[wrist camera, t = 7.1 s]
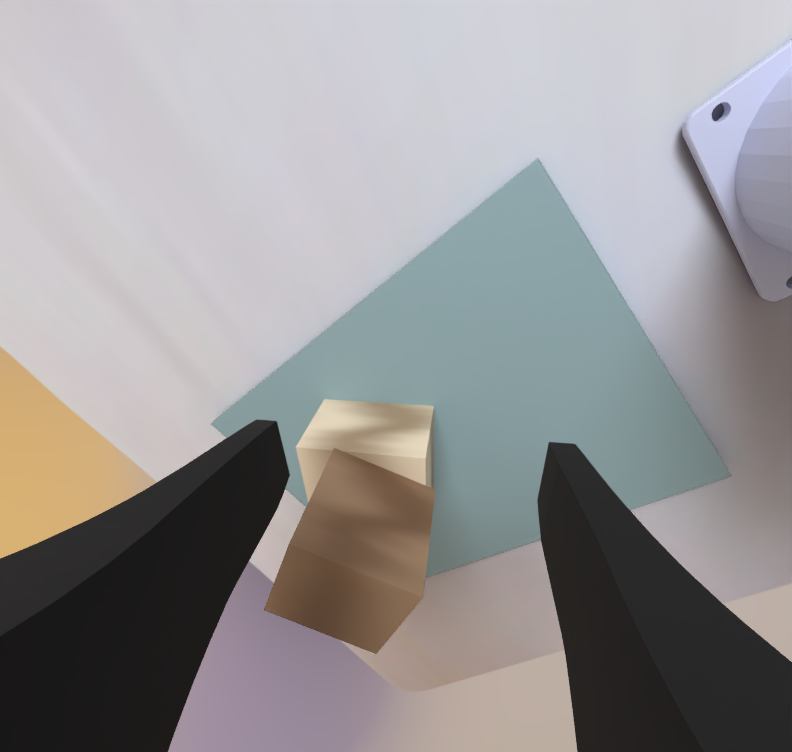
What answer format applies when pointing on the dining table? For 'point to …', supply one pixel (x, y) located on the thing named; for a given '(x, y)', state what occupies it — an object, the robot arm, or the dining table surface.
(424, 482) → the maple block
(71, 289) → the dining table surface
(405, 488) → the walnut cube
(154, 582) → the robot arm
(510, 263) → the mat
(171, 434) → the dining table surface
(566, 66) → the dining table surface
